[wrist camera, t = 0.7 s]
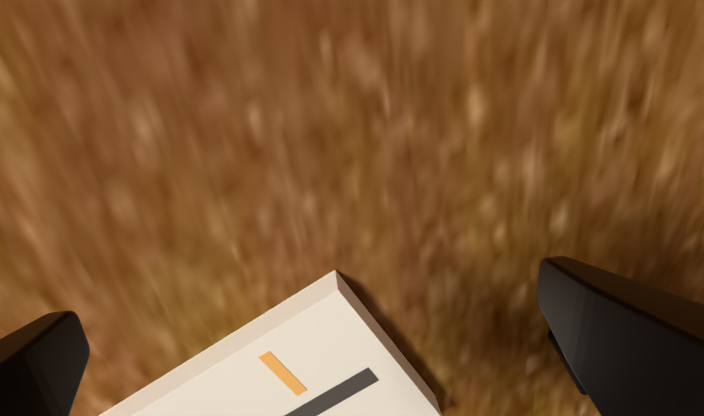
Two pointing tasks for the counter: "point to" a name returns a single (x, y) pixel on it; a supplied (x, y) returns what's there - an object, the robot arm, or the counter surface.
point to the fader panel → (294, 366)
